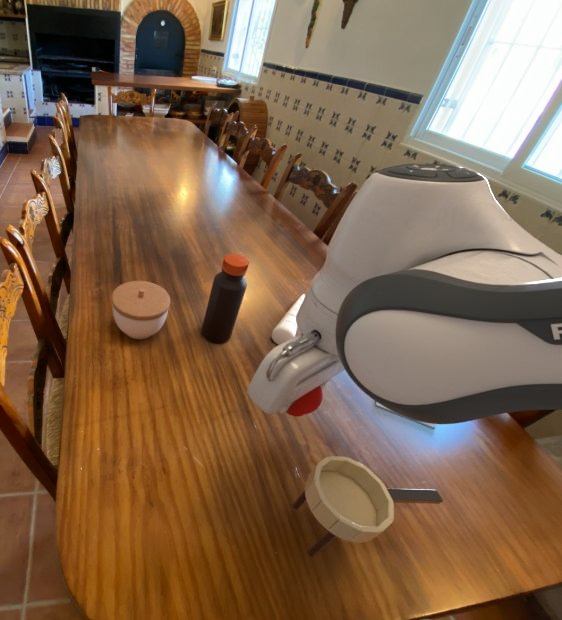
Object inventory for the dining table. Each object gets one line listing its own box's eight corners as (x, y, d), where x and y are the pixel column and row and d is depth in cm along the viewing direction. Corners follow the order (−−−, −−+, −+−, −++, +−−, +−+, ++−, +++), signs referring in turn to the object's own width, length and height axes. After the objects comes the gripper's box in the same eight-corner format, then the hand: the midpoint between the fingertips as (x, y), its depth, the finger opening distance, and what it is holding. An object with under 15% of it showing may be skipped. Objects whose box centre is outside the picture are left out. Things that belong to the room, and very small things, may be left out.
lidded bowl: (105, 314, 85) (106, 276, 78) (155, 307, 89) (160, 270, 82) (118, 352, 76) (120, 312, 69) (173, 343, 79) (180, 304, 72)
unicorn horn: (317, 301, 95) (324, 286, 92) (288, 350, 80) (295, 335, 77) (299, 294, 97) (306, 279, 94) (268, 341, 82) (274, 325, 79)
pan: (294, 565, 48) (333, 531, 40) (274, 496, 55) (304, 455, 47) (409, 567, 49) (469, 533, 41) (374, 498, 56) (420, 458, 48)
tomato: (321, 411, 48) (340, 384, 44) (295, 429, 45) (312, 402, 42) (289, 383, 51) (304, 356, 48) (263, 398, 49) (277, 371, 45)
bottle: (219, 321, 86) (239, 248, 74) (236, 339, 82) (261, 265, 69) (195, 327, 84) (212, 254, 71) (211, 347, 79) (232, 272, 66)
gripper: (305, 375, 32) (260, 454, 41) (419, 308, 41) (363, 384, 50) (253, 332, 36) (223, 412, 45) (368, 279, 45) (324, 355, 54)
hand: (297, 397), depth 47 cm, fingers closed on tomato, 5 cm apart
